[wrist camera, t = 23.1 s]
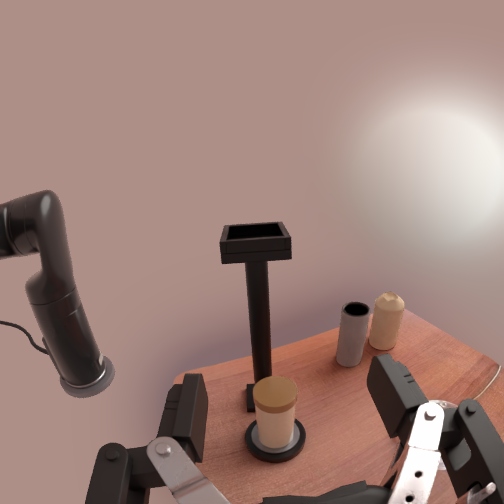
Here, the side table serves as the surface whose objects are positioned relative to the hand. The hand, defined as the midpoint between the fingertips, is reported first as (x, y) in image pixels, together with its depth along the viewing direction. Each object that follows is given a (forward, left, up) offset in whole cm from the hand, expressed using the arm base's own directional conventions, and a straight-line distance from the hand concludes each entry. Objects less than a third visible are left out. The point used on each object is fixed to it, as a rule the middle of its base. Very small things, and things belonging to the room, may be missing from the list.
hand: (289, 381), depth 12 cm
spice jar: (0, +11, -21) cm, 24 cm away
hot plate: (0, +11, -23) cm, 25 cm away
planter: (+14, +25, -23) cm, 37 cm away
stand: (-1, +19, -23) cm, 30 cm away
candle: (+22, +28, -23) cm, 43 cm away
